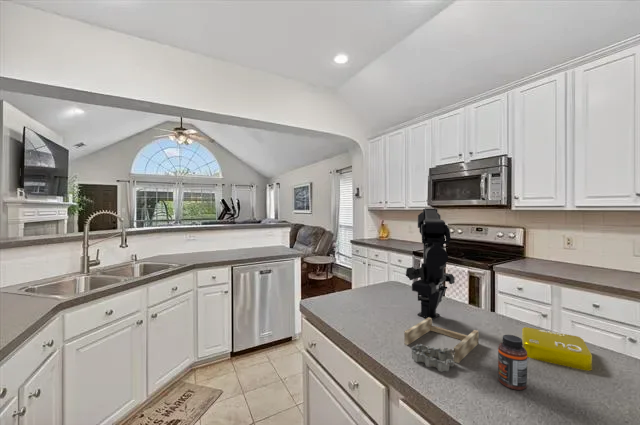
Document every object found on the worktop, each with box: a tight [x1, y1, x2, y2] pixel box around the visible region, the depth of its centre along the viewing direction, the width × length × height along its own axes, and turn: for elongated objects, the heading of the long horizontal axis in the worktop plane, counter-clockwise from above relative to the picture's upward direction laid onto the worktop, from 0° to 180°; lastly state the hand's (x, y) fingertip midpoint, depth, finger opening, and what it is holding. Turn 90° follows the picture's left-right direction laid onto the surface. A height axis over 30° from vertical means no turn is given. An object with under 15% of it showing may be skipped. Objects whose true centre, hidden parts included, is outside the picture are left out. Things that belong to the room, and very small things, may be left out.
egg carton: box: [410, 343, 455, 373], centre depth 82 cm, size 11×8×4 cm
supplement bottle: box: [497, 334, 528, 391], centre depth 71 cm, size 6×6×11 cm
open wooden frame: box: [403, 317, 480, 364], centre depth 92 cm, size 17×16×4 cm
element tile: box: [521, 326, 593, 372], centre depth 86 cm, size 15×15×5 cm
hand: (434, 309), depth 93 cm, fingers closed
